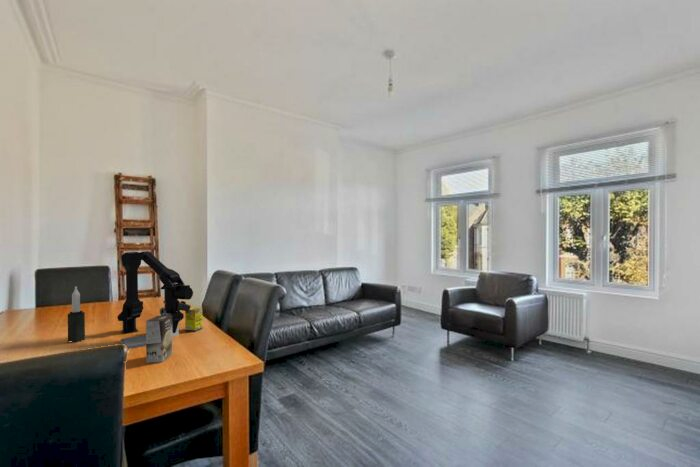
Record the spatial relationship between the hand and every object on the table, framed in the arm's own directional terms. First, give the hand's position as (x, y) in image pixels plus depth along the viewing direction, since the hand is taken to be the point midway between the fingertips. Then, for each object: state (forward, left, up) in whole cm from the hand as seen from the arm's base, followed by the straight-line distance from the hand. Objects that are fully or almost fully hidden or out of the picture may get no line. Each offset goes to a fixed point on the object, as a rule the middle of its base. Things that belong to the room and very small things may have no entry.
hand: (171, 330), depth 169 cm
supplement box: (-2, +11, -2) cm, 11 cm away
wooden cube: (0, 0, -2) cm, 2 cm away
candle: (-20, -35, -2) cm, 40 cm away
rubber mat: (+2, -13, -2) cm, 13 cm away
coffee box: (+30, -12, -2) cm, 32 cm away
